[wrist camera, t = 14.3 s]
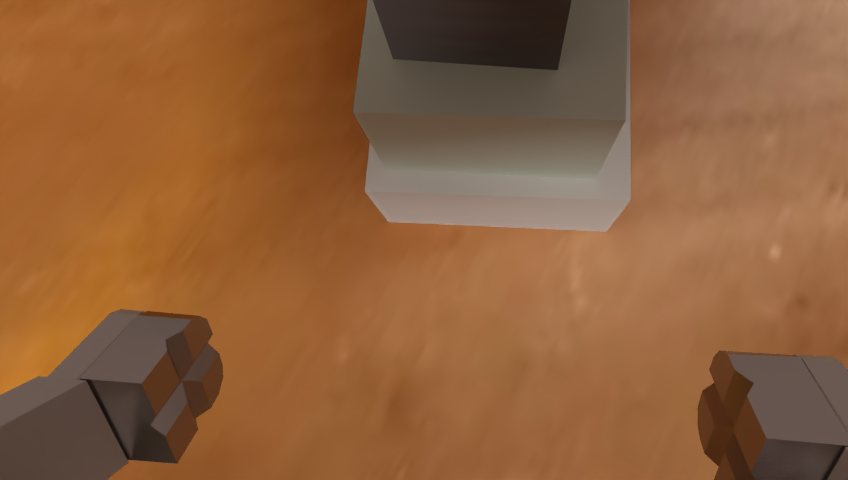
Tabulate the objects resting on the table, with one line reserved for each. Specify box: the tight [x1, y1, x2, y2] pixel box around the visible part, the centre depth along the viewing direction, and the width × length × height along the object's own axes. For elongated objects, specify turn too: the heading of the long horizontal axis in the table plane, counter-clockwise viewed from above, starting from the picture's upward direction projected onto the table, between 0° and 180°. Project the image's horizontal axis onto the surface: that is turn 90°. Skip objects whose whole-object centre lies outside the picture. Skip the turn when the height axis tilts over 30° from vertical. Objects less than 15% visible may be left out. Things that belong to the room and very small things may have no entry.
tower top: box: [353, 0, 628, 179], centre depth 19 cm, size 8×8×5 cm
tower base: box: [365, 0, 631, 232], centre depth 24 cm, size 10×10×5 cm
